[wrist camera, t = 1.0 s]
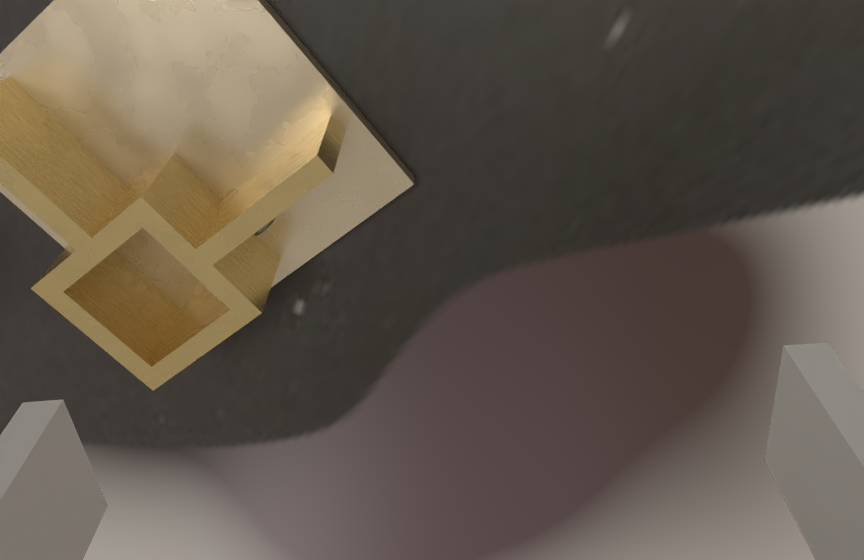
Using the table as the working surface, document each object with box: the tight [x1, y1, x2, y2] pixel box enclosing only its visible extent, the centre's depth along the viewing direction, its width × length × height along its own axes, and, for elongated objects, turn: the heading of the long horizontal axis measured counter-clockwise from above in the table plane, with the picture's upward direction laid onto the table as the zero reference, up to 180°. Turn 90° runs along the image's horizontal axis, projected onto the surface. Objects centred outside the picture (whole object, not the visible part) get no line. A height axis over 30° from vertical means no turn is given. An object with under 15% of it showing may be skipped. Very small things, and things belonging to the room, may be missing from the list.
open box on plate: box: [0, 0, 415, 390], centre depth 35 cm, size 16×16×6 cm
